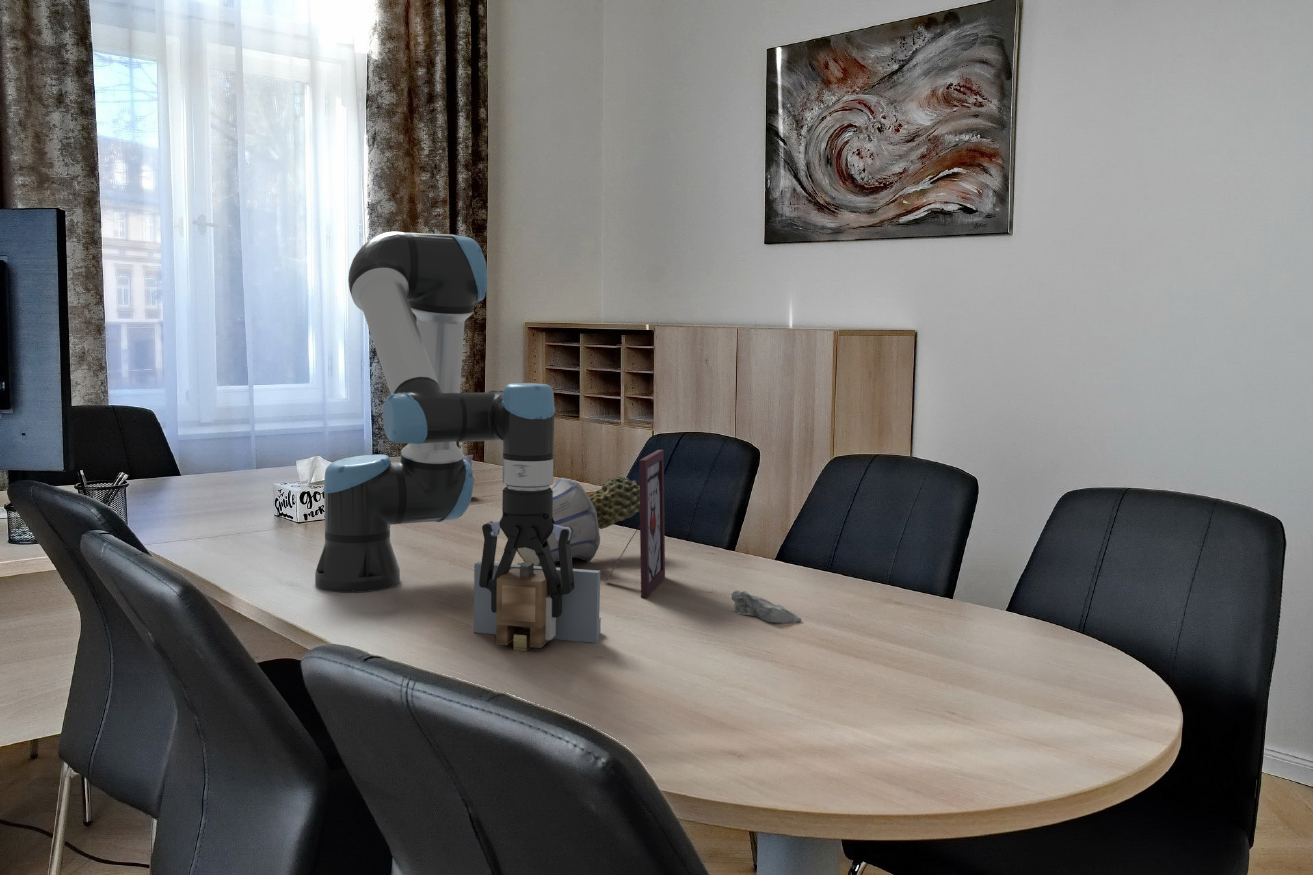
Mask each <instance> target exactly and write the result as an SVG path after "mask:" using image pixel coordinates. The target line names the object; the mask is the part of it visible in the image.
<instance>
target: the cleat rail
mask: <svg viewBox="0 0 1313 875" xmlns="http://www.w3.org/2000/svg"><path fill="white" fill-rule="evenodd" d="M530 648H531V647H530V627H522V628H521V629H520V630H518V631H517V632H516V633H515V634H514V639H513V651H519V652H527V651H528V650H530Z"/></svg>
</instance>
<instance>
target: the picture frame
mask: <svg viewBox="0 0 1313 875" xmlns="http://www.w3.org/2000/svg"><path fill="white" fill-rule="evenodd" d="M664 454H665V452H664V449H657V450H655V451H654V452H652V453H650V454H648V455H646V456H645V457H642V458H641V459H639V460H638V465H639V466H638V470H639V474H638V475H639V479H638V480H639V486H640V510H639V526H638V528H637V529H636V531H635V532H634V533H633V535H632V536H631V537H630V539H629V541H628V543H627V544H626V546H625V548H624V550H623V551H622V552H621V554H620V556H619V558H618V560H616V561H617V562H616V563H615V565H614V567H613V568H612V570H611V572H609V573H610V574H609V575H608V577H607V578H606V580H605V582H607V581H608V580H609V578H610V577H611V575H612V573H613V571H614V569H616V566H617V565H618V563H619V561H620V560H621V558H622V556H623V555H624V553H625V551H626V550H627V548H628V546H629V544H630V543H631V541H632V540H633V538H634V536H635V534H636V533H637V531H638V530H639V531H640V534H639V535H640V536H639V540H640V542H639V543H640V546H639V547H640V598H643V599H648V597H650V595H651V594H652V593H653V592H654V591H655V589H656V588H657V587H658V586H659V584H660V583H661V582H662V581H663V580H664V579H665V578H666V549H665V546H666V544H665V543H666V540H665V539H666V537H665V533H666V532H665V531H666V530H665V457H664Z"/></svg>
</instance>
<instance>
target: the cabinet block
mask: <svg viewBox="0 0 1313 875" xmlns="http://www.w3.org/2000/svg"><path fill="white" fill-rule="evenodd" d="M520 565H521V566H520V569H516V568H512V569H510V570H509V572H507V573H506V574H504V575H501V576H500V577H498V578H497V611H496V634H495V644H496V645H503V646H504V645H506V646H507V645H509V644H510V643H511V642H512V641H514V634H515V633H516V632H517V631H518V630H520V629H521V628H522V627H530V648H539V649H541V648H543V647H544V645H545V644H547V643H548V642H549V641H550V640H546V597H548V596H549V595H550V594H551V593H550V590H549V587H548V584H547V578H545V576H544V573H543V570H534V563H531V562H526V563H525V562H524V563H523V564H520Z"/></svg>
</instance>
